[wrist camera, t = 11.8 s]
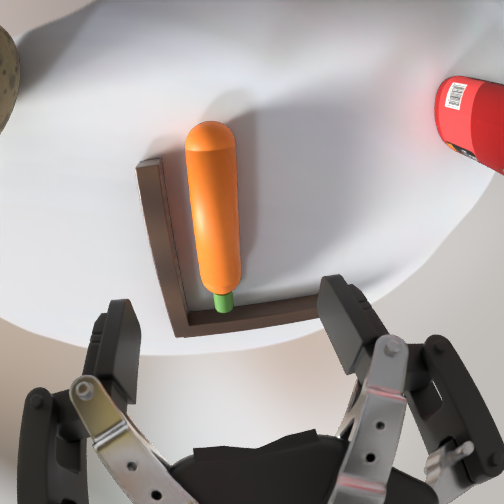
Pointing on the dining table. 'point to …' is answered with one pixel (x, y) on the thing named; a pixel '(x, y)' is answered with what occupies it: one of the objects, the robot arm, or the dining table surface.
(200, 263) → the carrot
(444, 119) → the canned food
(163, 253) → the corner guide
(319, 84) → the dining table surface
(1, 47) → the decorative egg
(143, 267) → the dining table surface
